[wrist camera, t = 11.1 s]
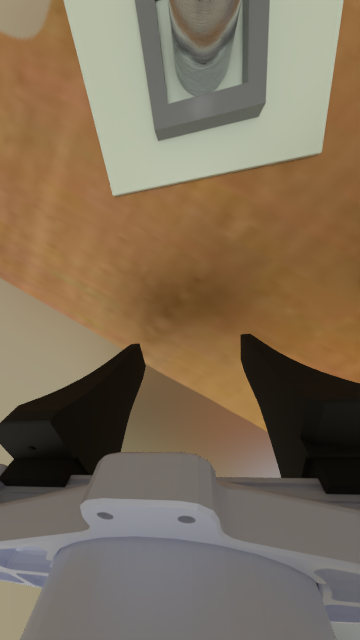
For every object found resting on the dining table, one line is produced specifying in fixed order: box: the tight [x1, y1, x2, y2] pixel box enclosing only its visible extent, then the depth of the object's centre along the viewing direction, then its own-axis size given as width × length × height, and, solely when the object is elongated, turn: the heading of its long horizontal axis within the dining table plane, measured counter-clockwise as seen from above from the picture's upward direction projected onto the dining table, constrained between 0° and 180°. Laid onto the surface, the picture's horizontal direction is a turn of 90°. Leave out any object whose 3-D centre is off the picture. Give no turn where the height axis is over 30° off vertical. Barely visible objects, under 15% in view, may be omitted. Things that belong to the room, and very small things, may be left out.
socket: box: [64, 0, 343, 197], centre depth 12 cm, size 18×14×2 cm
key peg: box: [168, 0, 242, 96], centre depth 10 cm, size 4×4×6 cm
